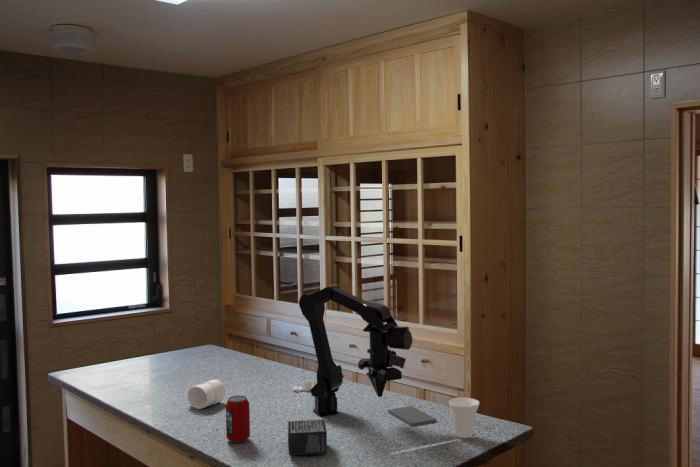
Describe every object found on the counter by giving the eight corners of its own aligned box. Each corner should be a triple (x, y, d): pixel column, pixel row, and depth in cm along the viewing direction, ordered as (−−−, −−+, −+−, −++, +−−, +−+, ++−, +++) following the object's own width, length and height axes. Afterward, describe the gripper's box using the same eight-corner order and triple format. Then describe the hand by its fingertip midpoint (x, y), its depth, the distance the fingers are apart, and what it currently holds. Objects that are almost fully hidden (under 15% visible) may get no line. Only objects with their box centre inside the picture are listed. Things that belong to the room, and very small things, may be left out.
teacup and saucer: (290, 393, 233) (290, 382, 233) (300, 387, 240) (300, 377, 240) (312, 395, 230) (312, 384, 230) (321, 390, 237) (321, 379, 237)
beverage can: (227, 435, 190) (226, 395, 189) (250, 434, 190) (250, 394, 190) (225, 443, 183) (224, 402, 183) (249, 442, 184) (248, 401, 183)
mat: (411, 426, 195) (411, 423, 195) (387, 412, 209) (387, 409, 209) (436, 421, 199) (436, 419, 199) (411, 408, 213) (411, 405, 213)
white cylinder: (227, 404, 221) (226, 381, 221) (207, 411, 213) (207, 387, 213) (202, 399, 227) (201, 376, 227) (182, 406, 220) (181, 383, 219)
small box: (324, 441, 184) (288, 442, 183) (324, 418, 184) (287, 419, 183) (326, 454, 174) (287, 456, 173) (326, 430, 174) (287, 432, 173)
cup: (460, 442, 181) (460, 407, 181) (443, 432, 190) (442, 398, 189) (486, 437, 185) (486, 403, 184) (468, 427, 193) (468, 394, 193)
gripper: (416, 349, 193) (417, 400, 194) (387, 338, 210) (388, 385, 211) (383, 353, 189) (384, 406, 189) (357, 342, 206) (357, 390, 206)
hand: (379, 396), depth 199 cm, fingers closed
